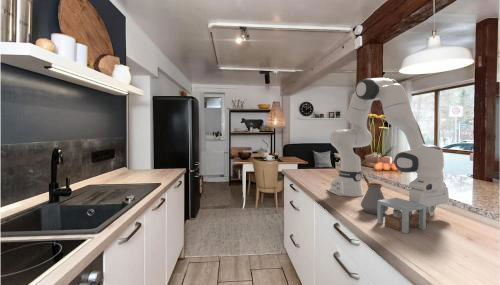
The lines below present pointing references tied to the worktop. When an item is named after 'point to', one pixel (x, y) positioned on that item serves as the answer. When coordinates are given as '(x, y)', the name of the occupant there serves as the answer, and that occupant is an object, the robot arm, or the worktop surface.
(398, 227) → the wooden mallet
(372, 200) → the coffee pot
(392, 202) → the small grey table
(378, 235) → the worktop surface
